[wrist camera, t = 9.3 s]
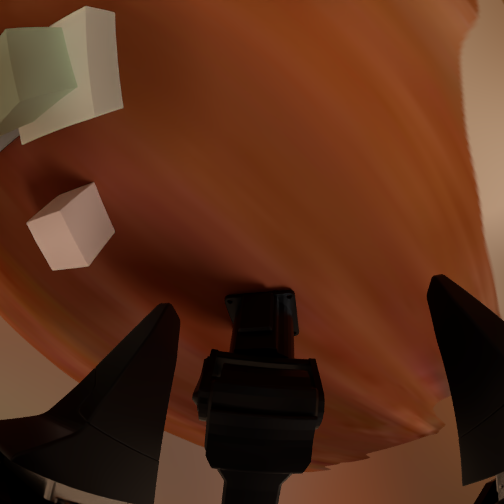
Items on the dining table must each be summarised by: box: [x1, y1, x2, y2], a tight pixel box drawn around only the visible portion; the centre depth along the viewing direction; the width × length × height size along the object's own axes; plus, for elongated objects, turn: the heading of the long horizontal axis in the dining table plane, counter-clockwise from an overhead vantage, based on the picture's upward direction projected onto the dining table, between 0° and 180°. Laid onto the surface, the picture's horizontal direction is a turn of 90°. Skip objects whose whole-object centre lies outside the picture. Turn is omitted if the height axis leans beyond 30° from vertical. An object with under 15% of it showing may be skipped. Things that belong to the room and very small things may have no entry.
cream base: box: [18, 6, 123, 145], centre depth 12 cm, size 8×8×4 cm
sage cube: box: [0, 27, 78, 136], centre depth 9 cm, size 5×5×5 cm
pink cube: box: [27, 182, 115, 270], centre depth 19 cm, size 5×5×5 cm
